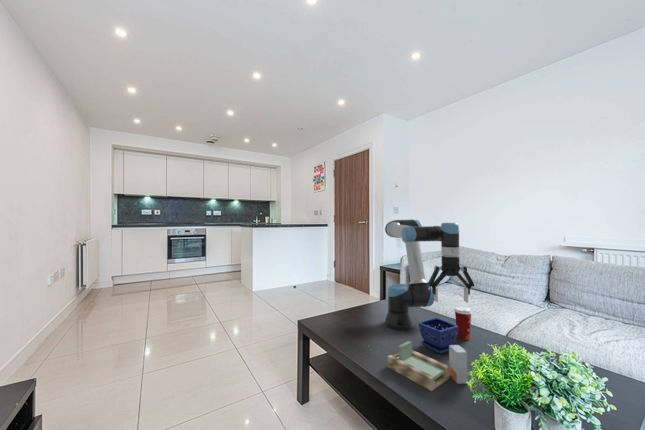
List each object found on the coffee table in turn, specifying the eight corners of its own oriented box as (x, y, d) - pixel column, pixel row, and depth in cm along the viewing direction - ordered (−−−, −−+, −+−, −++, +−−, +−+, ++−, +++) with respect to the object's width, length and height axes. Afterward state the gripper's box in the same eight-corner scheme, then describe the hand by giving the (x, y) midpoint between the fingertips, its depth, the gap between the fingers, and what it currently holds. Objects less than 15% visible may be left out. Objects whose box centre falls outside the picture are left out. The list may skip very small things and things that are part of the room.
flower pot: (440, 358, 119) (440, 331, 119) (417, 345, 131) (417, 321, 131) (459, 351, 125) (459, 325, 125) (436, 339, 137) (435, 316, 137)
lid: (393, 361, 113) (393, 344, 113) (405, 355, 118) (405, 338, 118) (432, 381, 98) (431, 361, 99) (444, 373, 103) (443, 354, 104)
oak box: (387, 367, 112) (387, 356, 112) (406, 357, 120) (406, 347, 120) (431, 391, 96) (431, 378, 96) (449, 378, 104) (449, 366, 104)
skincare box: (449, 374, 106) (448, 344, 106) (459, 374, 106) (458, 344, 107) (457, 384, 100) (456, 352, 100) (468, 383, 100) (467, 352, 100)
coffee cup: (474, 341, 134) (474, 311, 134) (457, 340, 136) (456, 311, 136) (469, 334, 142) (468, 306, 143) (452, 333, 144) (452, 305, 144)
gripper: (425, 257, 120) (426, 303, 120) (482, 256, 118) (483, 304, 118) (420, 254, 128) (421, 298, 128) (473, 254, 126) (474, 299, 126)
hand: (451, 301), depth 123 cm, fingers open, 13 cm apart
